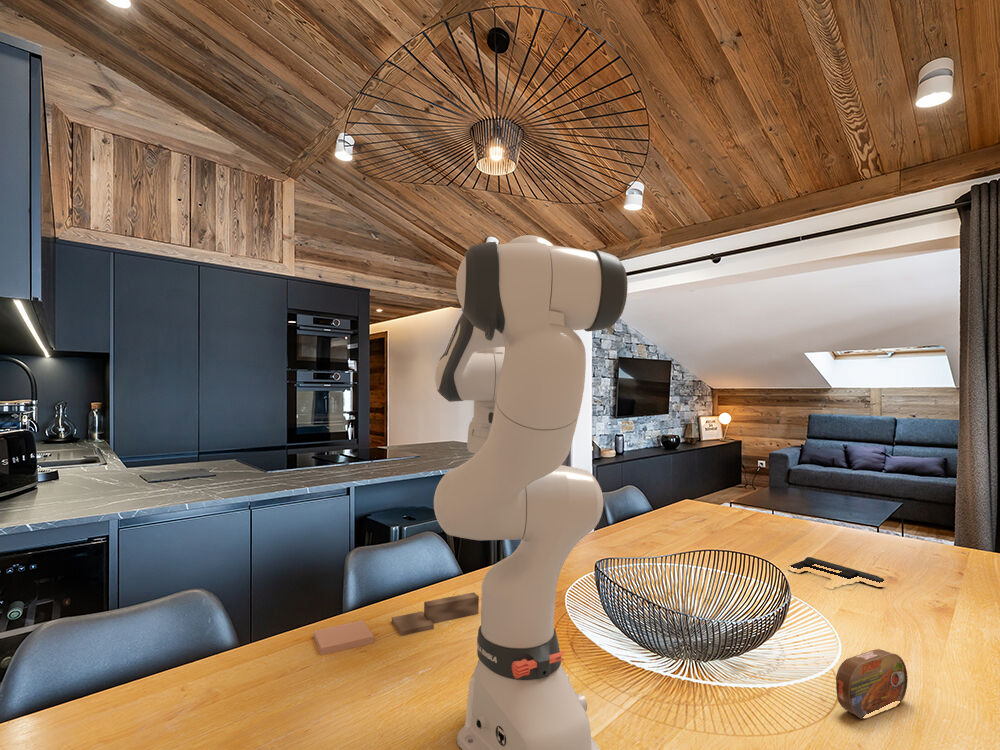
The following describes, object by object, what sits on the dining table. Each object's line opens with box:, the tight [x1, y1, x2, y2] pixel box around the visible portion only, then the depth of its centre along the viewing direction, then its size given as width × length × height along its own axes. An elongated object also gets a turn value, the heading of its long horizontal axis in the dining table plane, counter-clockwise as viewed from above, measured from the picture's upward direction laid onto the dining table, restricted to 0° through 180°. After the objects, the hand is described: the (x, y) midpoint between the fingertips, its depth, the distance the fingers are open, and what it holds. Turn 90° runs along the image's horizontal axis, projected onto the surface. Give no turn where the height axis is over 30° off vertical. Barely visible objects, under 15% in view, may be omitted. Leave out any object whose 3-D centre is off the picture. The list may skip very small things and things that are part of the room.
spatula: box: [391, 592, 480, 637], centre depth 111 cm, size 18×7×4 cm, turn 118°
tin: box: [835, 648, 908, 720], centre depth 82 cm, size 15×3×8 cm, turn 114°
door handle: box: [789, 556, 885, 583], centre depth 139 cm, size 3×20×16 cm
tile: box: [313, 619, 375, 656], centre depth 101 cm, size 8×2×10 cm
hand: (492, 478), depth 111 cm, fingers open, 8 cm apart
